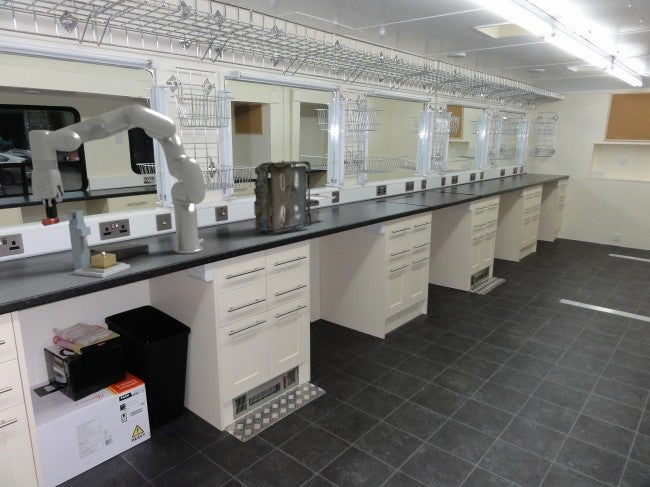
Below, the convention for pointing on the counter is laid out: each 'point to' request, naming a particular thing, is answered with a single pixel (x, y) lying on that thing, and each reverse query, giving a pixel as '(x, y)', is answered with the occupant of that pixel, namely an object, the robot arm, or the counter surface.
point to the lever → (58, 219)
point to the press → (86, 249)
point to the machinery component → (282, 196)
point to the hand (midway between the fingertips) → (52, 217)
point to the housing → (103, 261)
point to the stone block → (123, 250)
